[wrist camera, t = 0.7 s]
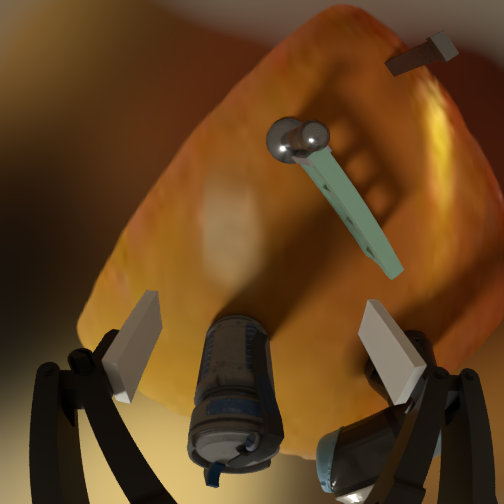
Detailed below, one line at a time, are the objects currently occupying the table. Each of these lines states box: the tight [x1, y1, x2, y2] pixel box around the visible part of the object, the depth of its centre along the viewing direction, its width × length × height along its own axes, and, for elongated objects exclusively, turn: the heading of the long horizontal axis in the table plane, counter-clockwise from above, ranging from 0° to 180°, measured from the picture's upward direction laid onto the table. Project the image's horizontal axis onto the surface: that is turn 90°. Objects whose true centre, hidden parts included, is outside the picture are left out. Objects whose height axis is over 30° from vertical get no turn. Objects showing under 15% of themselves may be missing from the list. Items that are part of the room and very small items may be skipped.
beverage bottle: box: [187, 315, 284, 488], centre depth 32 cm, size 10×13×25 cm
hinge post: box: [266, 118, 330, 164], centre depth 26 cm, size 6×6×15 cm
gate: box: [291, 145, 404, 280], centre depth 31 cm, size 17×3×9 cm, turn 40°
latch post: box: [385, 31, 459, 76], centre depth 23 cm, size 3×3×13 cm
